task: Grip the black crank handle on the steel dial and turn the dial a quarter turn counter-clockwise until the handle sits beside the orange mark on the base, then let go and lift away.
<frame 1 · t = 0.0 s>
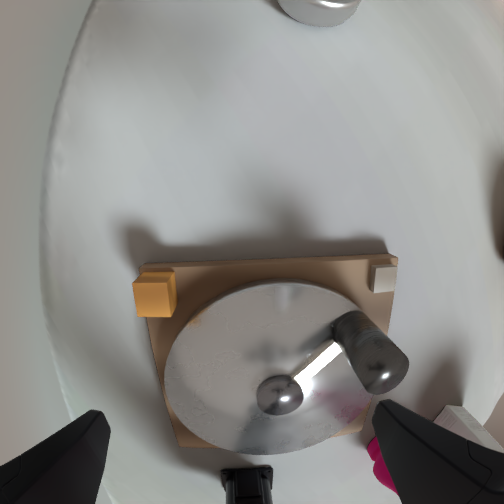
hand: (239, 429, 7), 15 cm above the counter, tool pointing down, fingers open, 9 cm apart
plastic bottle: (310, 10, 17), on the counter
pepper mill: (387, 438, 28), on the counter
dial: (282, 409, 18), point 6 cm above the counter, hinge at 0.0°
skincare box: (438, 422, 29), on the counter
dial base: (273, 367, 24), on the counter
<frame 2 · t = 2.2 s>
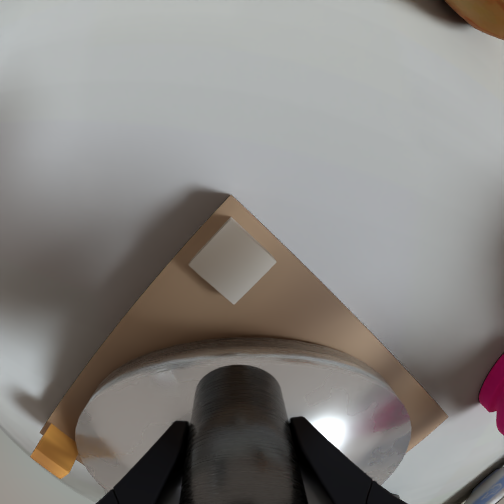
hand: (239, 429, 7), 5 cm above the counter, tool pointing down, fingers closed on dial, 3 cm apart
onion: (451, 1, 9), on the counter
pepper mill: (499, 373, 15), on the counter
dial base: (243, 446, 14), on the counter
ramen bowl: (484, 479, 26), on the counter
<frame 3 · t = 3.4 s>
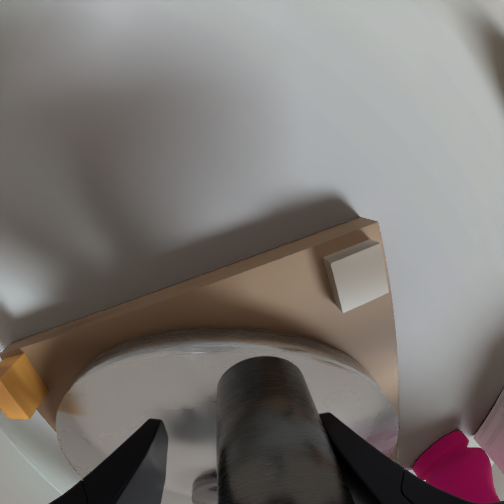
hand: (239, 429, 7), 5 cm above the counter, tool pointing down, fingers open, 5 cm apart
pepper mill: (436, 449, 18), on the counter
skincare box: (498, 404, 18), on the counter
dial base: (226, 441, 14), on the counter
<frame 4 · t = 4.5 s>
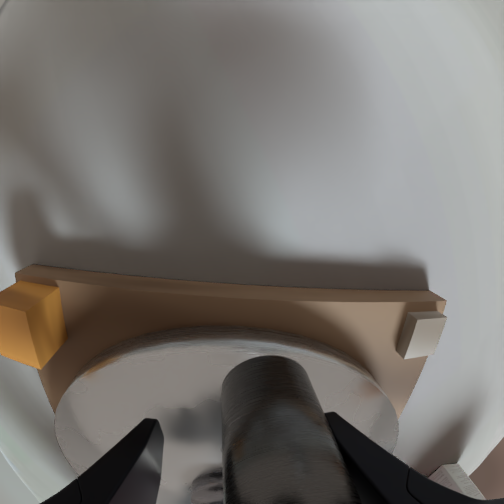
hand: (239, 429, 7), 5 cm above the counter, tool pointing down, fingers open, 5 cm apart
skincare box: (428, 480, 20), on the counter
dial base: (225, 440, 14), on the counter
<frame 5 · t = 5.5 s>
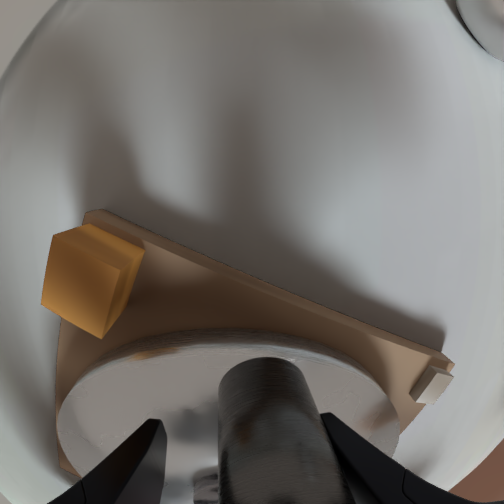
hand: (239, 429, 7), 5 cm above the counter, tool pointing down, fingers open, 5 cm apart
plastic bottle: (476, 30, 9), on the counter
dial base: (227, 442, 14), on the counter
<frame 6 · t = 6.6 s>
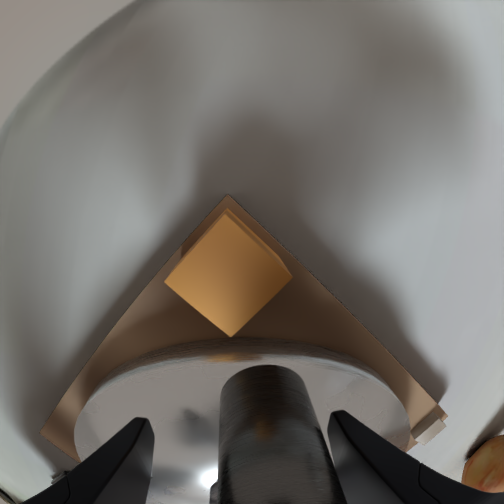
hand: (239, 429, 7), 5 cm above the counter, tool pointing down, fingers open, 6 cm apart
onion: (477, 448, 19), on the counter
dial base: (242, 446, 14), on the counter
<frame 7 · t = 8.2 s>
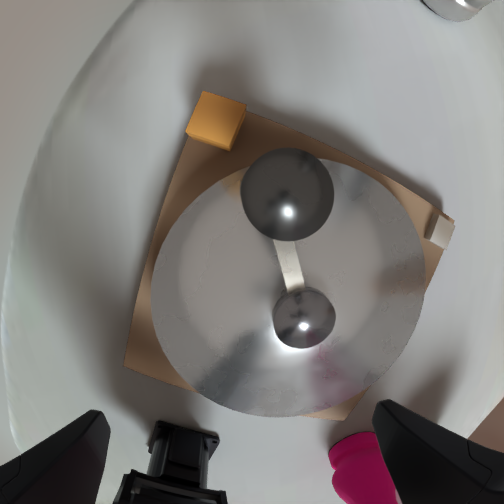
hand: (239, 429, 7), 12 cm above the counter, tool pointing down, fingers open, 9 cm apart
plastic bottle: (433, 2, 14), on the counter
pepper mill: (352, 446, 25), on the counter
dial: (310, 332, 14), point 6 cm above the counter, hinge at 82.7°
dial base: (291, 292, 20), on the counter
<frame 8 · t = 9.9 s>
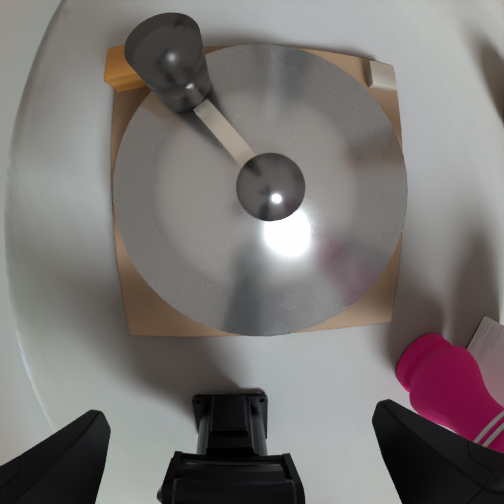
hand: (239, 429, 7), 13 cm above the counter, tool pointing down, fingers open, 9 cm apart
pepper mill: (419, 358, 23), on the counter
dial: (274, 186, 13), point 6 cm above the counter, hinge at 82.7°
skincare box: (476, 346, 24), on the counter
dial base: (262, 187, 19), on the counter
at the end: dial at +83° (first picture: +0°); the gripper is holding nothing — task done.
